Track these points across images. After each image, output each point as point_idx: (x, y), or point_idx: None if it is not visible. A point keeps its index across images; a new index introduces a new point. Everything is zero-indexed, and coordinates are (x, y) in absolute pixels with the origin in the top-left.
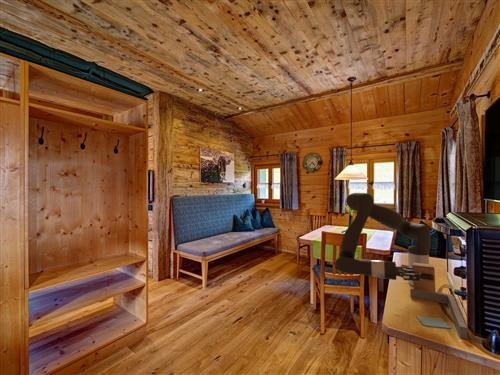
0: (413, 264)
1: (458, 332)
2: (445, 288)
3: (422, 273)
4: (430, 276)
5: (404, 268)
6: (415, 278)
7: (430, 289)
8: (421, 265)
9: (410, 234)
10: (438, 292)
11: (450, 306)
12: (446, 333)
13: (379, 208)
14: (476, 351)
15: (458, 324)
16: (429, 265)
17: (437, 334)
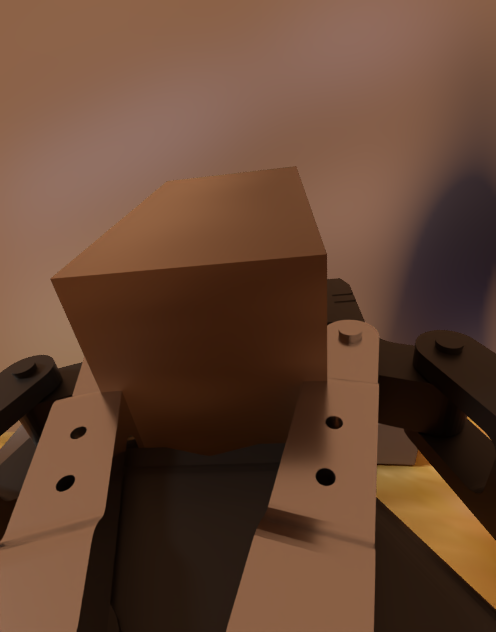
0: (250, 255)
1: (382, 459)
2: None
3: (332, 314)
4: (345, 286)
5: (303, 578)
6: (431, 449)
7: None
8: (265, 205)
9: None
10: (4, 450)
11: None
12: (417, 514)
13: None
14: (484, 433)
15: (387, 429)
16: (220, 182)
17: (478, 566)
